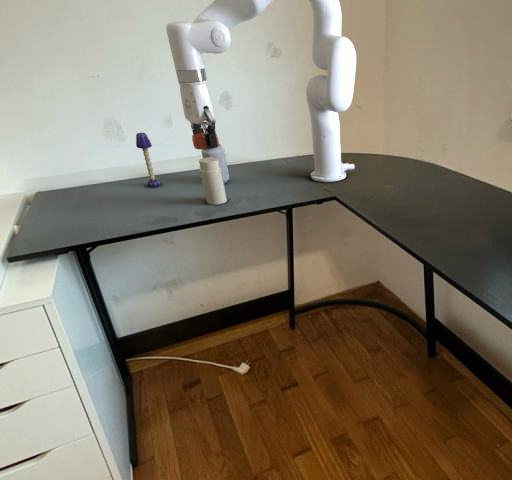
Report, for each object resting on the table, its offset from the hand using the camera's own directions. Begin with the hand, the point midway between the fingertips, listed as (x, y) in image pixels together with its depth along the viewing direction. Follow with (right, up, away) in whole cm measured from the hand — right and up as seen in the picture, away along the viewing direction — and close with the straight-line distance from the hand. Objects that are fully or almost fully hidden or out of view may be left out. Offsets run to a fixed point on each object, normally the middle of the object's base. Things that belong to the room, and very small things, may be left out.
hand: (206, 145), depth 138 cm
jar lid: (0, +2, -1) cm, 2 cm away
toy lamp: (-26, -4, +23) cm, 35 cm away
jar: (0, -14, +10) cm, 17 cm away
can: (-5, -2, +26) cm, 26 cm away
